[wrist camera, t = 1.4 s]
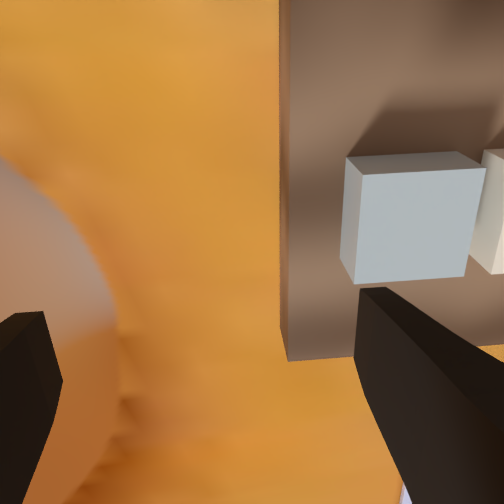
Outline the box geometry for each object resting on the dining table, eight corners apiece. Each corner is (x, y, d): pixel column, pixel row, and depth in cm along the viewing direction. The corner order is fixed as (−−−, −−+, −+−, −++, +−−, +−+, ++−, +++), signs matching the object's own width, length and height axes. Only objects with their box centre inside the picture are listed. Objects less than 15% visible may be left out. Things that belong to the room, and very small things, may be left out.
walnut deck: (537, 307, 23) (572, 338, 21) (280, 327, 23) (287, 361, 20) (634, -14, 17) (699, -17, 15) (278, -2, 16) (290, -4, 14)
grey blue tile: (439, 250, 18) (463, 276, 17) (339, 257, 18) (353, 284, 16) (456, 150, 17) (486, 167, 15) (345, 157, 16) (362, 174, 15)
